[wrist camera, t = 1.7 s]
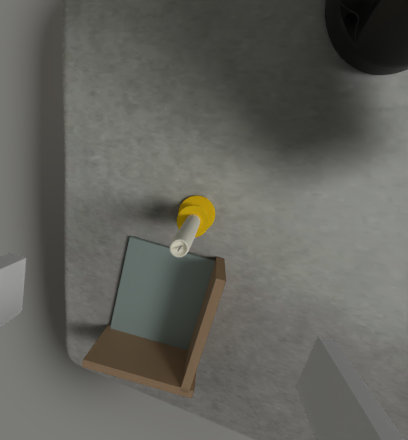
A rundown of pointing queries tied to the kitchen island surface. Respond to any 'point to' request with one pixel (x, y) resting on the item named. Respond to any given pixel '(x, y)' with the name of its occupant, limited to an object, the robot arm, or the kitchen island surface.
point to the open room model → (160, 318)
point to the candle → (191, 223)
